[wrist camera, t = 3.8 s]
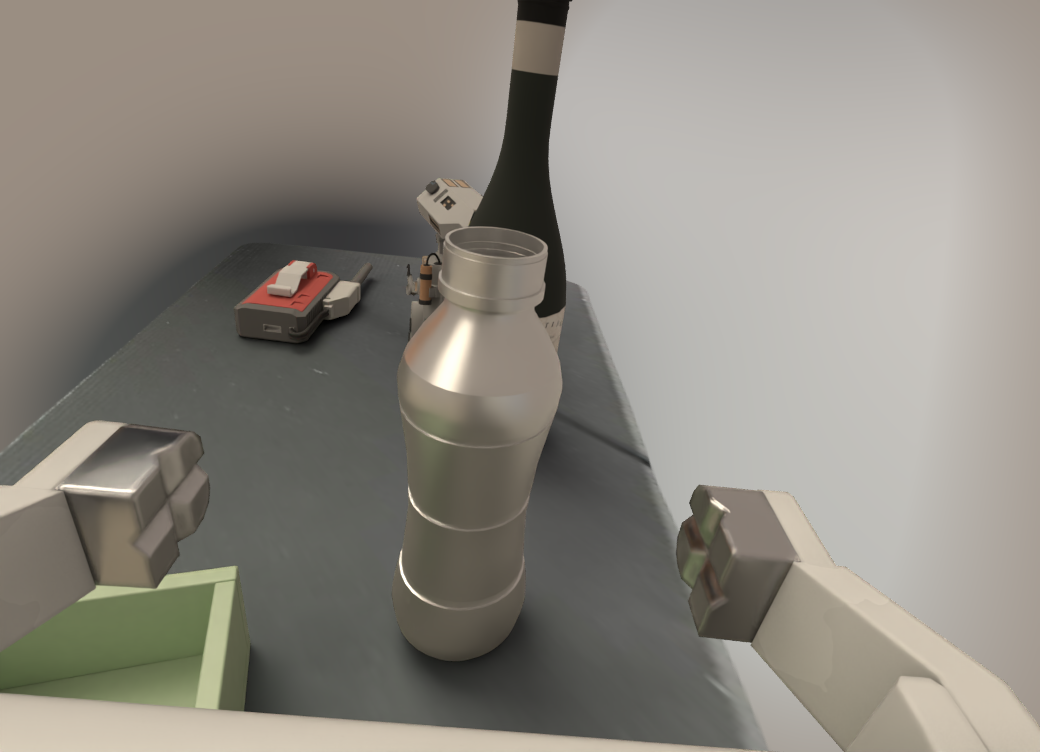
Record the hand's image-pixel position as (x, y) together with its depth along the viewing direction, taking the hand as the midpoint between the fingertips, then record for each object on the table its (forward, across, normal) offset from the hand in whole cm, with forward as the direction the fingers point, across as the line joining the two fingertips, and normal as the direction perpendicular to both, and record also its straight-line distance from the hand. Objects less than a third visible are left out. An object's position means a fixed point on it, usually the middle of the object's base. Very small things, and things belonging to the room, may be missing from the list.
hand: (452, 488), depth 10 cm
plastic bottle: (+12, 0, -20) cm, 23 cm away
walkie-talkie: (+48, -18, -20) cm, 55 cm away
